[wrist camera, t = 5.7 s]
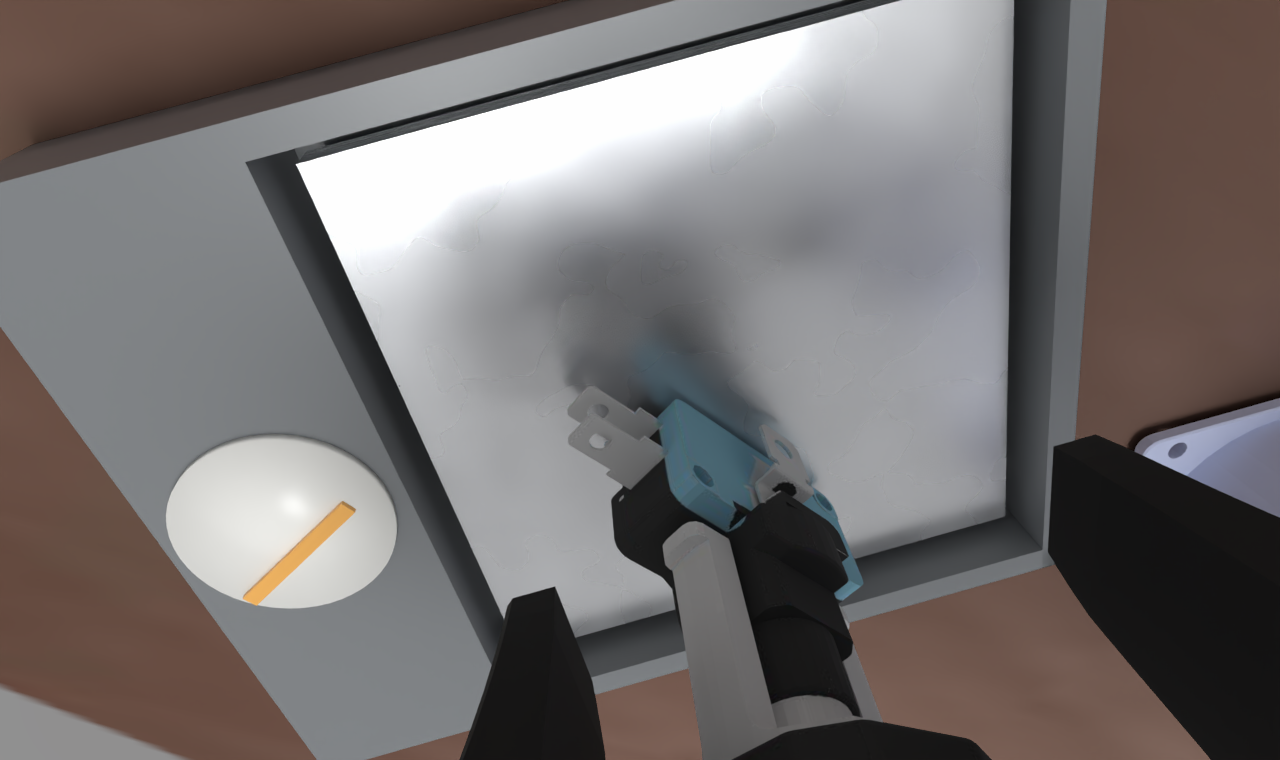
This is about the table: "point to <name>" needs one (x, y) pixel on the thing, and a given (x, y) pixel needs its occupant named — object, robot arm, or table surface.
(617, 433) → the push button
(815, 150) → the weighing pan
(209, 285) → the scale housing
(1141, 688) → the table surface
